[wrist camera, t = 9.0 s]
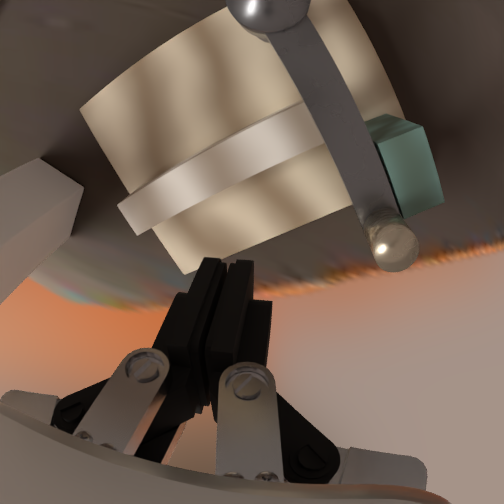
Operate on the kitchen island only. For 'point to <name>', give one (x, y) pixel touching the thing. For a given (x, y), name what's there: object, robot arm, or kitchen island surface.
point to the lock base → (220, 105)
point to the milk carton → (33, 219)
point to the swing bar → (334, 122)
